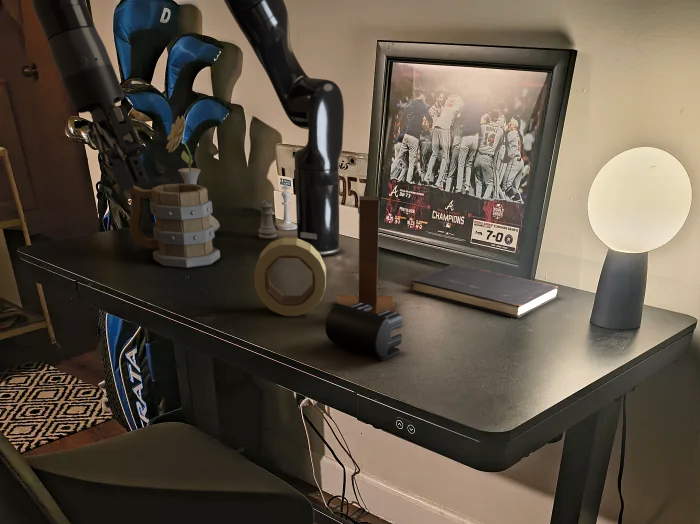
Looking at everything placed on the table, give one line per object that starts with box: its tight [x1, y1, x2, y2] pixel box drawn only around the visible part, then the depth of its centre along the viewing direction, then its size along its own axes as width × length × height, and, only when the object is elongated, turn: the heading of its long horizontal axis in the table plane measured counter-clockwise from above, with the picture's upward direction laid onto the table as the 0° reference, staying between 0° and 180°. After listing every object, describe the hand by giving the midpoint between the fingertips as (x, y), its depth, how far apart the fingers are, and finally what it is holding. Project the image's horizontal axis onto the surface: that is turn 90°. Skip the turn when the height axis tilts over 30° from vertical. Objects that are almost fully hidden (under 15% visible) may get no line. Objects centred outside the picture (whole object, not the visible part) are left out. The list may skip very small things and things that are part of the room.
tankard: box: [112, 183, 221, 269], centre depth 153 cm, size 20×13×15 cm, turn 80°
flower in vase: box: [165, 115, 221, 233], centre depth 168 cm, size 13×11×25 cm
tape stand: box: [336, 195, 397, 314], centre depth 126 cm, size 14×10×20 cm
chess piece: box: [276, 183, 297, 231], centre depth 180 cm, size 5×5×10 cm
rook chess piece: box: [257, 199, 278, 241], centre depth 172 cm, size 4×4×8 cm
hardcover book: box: [410, 263, 559, 319], centre depth 142 cm, size 16×23×2 cm
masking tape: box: [253, 237, 327, 317], centre depth 127 cm, size 5×12×12 cm, turn 93°
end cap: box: [324, 303, 403, 361], centre depth 114 cm, size 10×7×7 cm
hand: (134, 187), depth 115 cm, fingers open, 8 cm apart
